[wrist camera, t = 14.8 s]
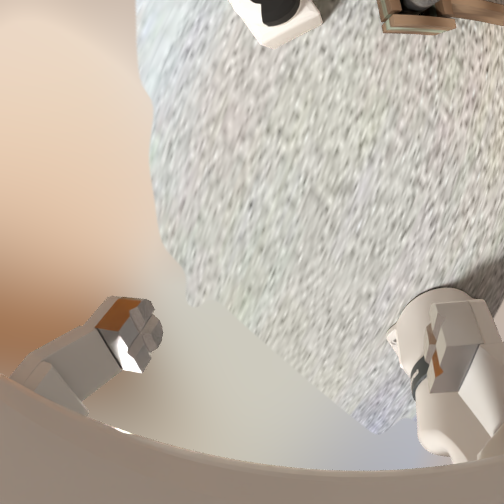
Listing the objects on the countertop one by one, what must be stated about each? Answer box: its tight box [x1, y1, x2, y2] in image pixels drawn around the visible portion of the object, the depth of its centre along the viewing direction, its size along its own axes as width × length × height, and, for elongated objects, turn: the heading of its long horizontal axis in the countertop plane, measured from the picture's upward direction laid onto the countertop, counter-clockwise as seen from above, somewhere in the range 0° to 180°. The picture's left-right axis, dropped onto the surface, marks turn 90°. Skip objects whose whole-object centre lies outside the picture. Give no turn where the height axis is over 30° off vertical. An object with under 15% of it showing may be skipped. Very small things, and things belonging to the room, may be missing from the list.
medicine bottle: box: [228, 0, 323, 49], centre depth 25 cm, size 7×7×12 cm
